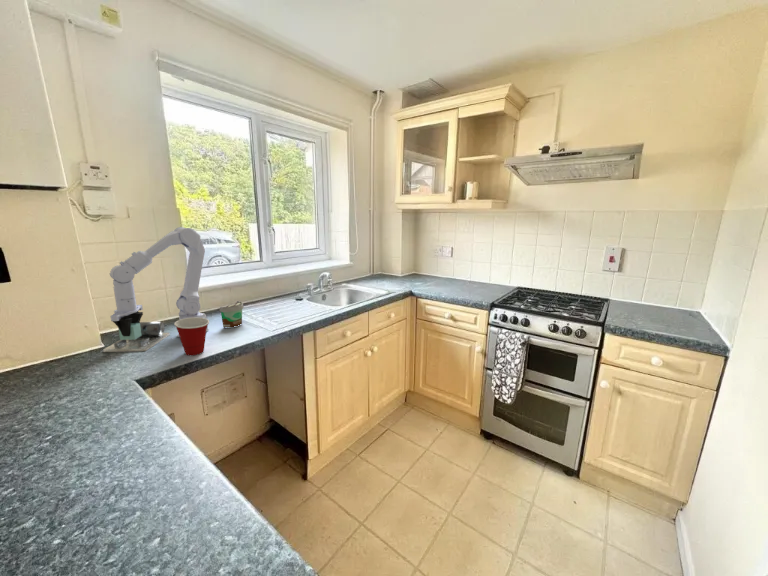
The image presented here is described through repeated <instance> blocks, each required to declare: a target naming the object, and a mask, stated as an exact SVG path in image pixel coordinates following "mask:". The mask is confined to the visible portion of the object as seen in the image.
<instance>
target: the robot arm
mask: <svg viewBox="0 0 768 576" xmlns="http://www.w3.org/2000/svg"><path fill="white" fill-rule="evenodd" d="M177 245H183V247H184V248H185V249H187V251H189V255H188V261H187V266H186V272H185V278H184V284H183V288H182V290H181V291H180V294H179V297H178V299H176V302H175V305H176V308H177V309H179V312H178V318H179V319H178V320H181V319H185V318H194V317H197V318H205V319H208V318H207V314H206V313H202V312H200V310H201V303H200V295H199V288H200V287H199V286H200V279H201V276H202V275H201V274H202V270H203V264H204V257H205V251H206V249H205V246H204V245H203V242H202V240H201V235H200V234H199V233H198V232H197V231H196V230H195V229H194V228H192V227H182V226H180V227H177V228H175V229H174V230H171V231H170V232H168V233H166V235H164V236H162V238H160V239H159V240H158V241H156V242H155V243H154V244H152V245H151V246H150V247H148V248H147V249H146V250H144V251H143V250H142V251H141V250H138V251H137V252H136V251H133V252H132V253H131V256H129V257H128V258H127V259H125V260H124V261H123V260H121V261H119V265H114V266H113V267H112V268H111V270H110V273H109V277H110V278H111V279H112V281H113V282H112V284H113V292H114V299H115V305H116V306H115V307H116V309H115V310H113V314H112V315H110V321H111V322H112V323H113V324H114V325H116V326H117V328H119V329H120V331H121V333H122V335H123V336H130V334H131V323H140V322H141V319H142V317H143V315H144V312H143V310H144V309H143V304H137V299H136V293H135V292H136V291H135V285H134V281H133V280H134V278H135V275H137V274H139V273H140V272H141V271H143V270H144V269H146V268H147V267H148V266H150V265H151V264H152V263H153V258H154V257H156V256H157V255H159V254H161V253H162V252H163V251H165V250H166V249H168V248H169V247H172V246H177ZM119 329H118V330H119ZM209 330H210V329H209V328H208V326H207V329H206V333H207V332H208V331H209ZM176 337H178V338H180V336H179V333H178V334H177V335H176Z"/></svg>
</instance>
